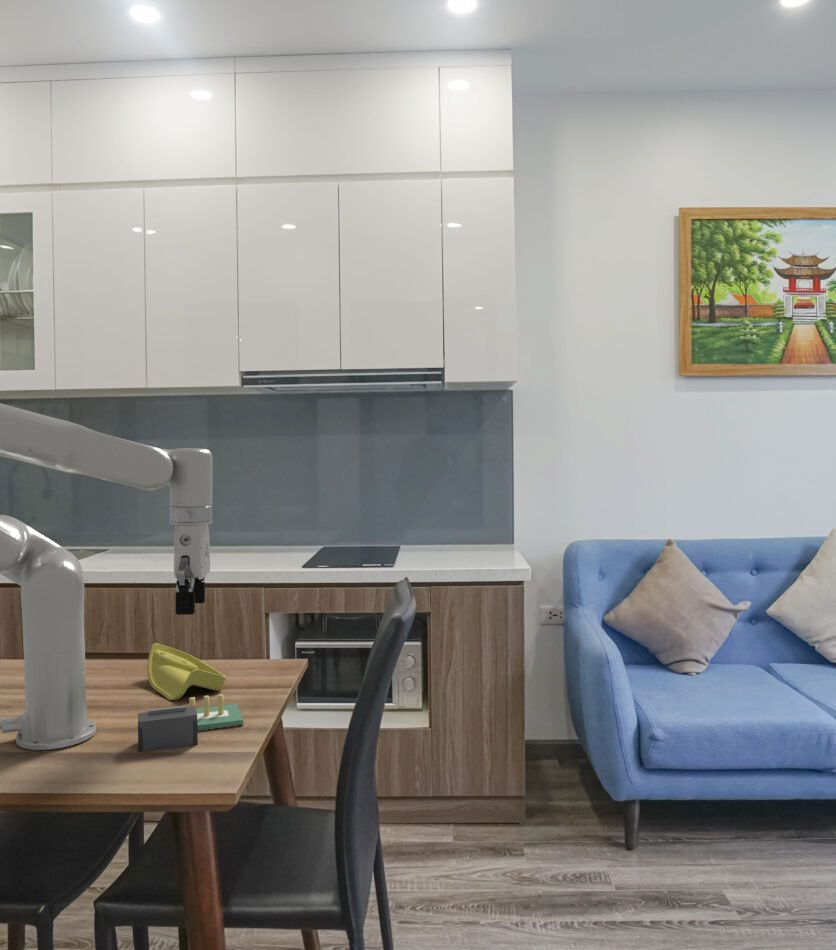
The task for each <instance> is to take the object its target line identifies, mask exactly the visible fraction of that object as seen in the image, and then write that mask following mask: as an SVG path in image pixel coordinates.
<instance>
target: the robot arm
mask: <svg viewBox="0 0 836 950" xmlns="http://www.w3.org/2000/svg"><path fill="white" fill-rule="evenodd" d="M0 457H2V458H7V459H12V460H16V461H20V462H24V463H28V464H32V465H36V466H39V467H44V468H49V469H52V470H57V471H60V472H63V473H67V474H76V475H77V474H78V475H83V476H88V477H92V478H95V479H100V480H104V481H108V482H111V483H115V484H120V485H123V486H129V487H132V488H137V489H138V490H139V489H140V490H145V491H156V490H159V489H161V488H163V487H165V486H169V525H173V526H175V527H174V535H173V536H174V541H173V542H174V544H173V546H174V547H173V575H174V578H175V579H176V582H175V583H176V586H175V614H176V615H178V616H179V615H180V616H182V615H184V616H185V615H192V616H193V615H194V614H195V612H196V609H195V607H196V606H195V604H204V603H205V601H206V582H205V580H206V578H205V577H206V576H207V575H208V574H209V573H210V572H211V549H210V547H211V546H210V532H209V531H210V528H209V525H211V524H213V495H214V494H213V492H214V491H213V481H214V480H213V475H214V473H213V471H214V470H213V469H214V468H213V467H214V466H213V465H214V463H213V462H214V461H213V459H214V458H213V453H212V452H211V451H210V450H209V449H207V448H199V447H197V448H194V447H192V448H190V447H188V448H187V447H183V448H181V447H179V448H175V449H168V448H167V449H166V448H161V447H160V448H159V447H155V446H151V445H147V444H144V443H142V442H141V443H140V442H136V441H132V440H129V439H124V438H121V437H117V436H114V435H111V434H107V433H103V432H100V431H97V430H93V429H90V428H88V427H86V426H83V425H81V424H78V423H75V422H71V421H69V420H65V419H60V418H58V417H52V416H49V415H45V414H42V413H38V412H33V411H30V410H27V409H23V408H19V407H15V406H12V405H9V404H4V403H1V402H0ZM0 575H1V576H3V577H4V578H6V579H8V580H10V581H12V582H13V583H15V584H16V585H18V586H20V601H21V616H22V619H21V620H22V639H23V640H22V642H23V644H22V645H23V663H24V667H23V668H24V704H25V706H24V707H25V708H24V709H25V710H24V713H23V714H18V715H17V716H15V717H2V718H1V717H0V731H2V734H7V733H12V732H17V733H16V735H15V743H16V745H17V746H18V747H19V748H21V749H24V750H31V751H48V750H49V751H50V750H58V749H62V748H67V747H72V746H75V745H77V744H80V743H82V742H84V741H87V740H89V739H90V738H92V737H93V736H94V735H95V734H96V733H97V723H96V722H95V721H94V720H92V719H89V718H87V695H86V694H87V687H86V685H87V684H86V680H87V678H86V645H85V643H86V642H85V639H86V638H85V580H84V571H83V568H82V565H81V563H80V561H79V559H78V558H77V557H76V556H75V555H74V554H73V553H72V552H70V551H69V550H67V549H66V548H65V547H63V546H61V545H59V544H58V543H56V542H55V541H53V540H52V539H50V538H49V537H47V536H45V535H44V534H42V533H41V532H39V531H38V530H35V529H34V528H33V527H31V526H29V525H28V524H26V523H24V522H23V521H21V520H19V519H17V518H16V517H13V516H10V515H6V514H0Z"/></svg>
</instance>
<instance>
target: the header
mask: <svg viewBox="0 0 836 950" xmlns="http://www.w3.org/2000/svg"><path fill="white" fill-rule="evenodd" d="M188 700H189V707H196V697H195V696H193V697H189V698H188ZM196 711H197V732H200V731H209V730H208V729H210V730H216V729H215V728H218V729H224V728H223V727H226V728H231V727H230V726H234V727H237V726H236V725H242V726H244V718H243V715H242V713H241V710H240V707H239V704H238V703H231V704H224V694H222V693H219V694H217V705H215V706H210V696H209V695H204V696H203V707H198V708H197V707H196Z"/></svg>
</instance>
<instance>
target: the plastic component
mask: <svg viewBox="0 0 836 950" xmlns="http://www.w3.org/2000/svg"><path fill="white" fill-rule="evenodd" d="M146 667H147V669H146V670H147V678H148V682H149V684H150V685H151V687H152V689H154V690H155V691H157V692H158V693H159V694H161V695H162V696H163V697H165V698H166V699H168V700H169V701H178V700H179V699H181V698H182V697H183V696H184V695H185V694H186V692H187V690H188V689H189V688H191V686H196V687H200V688H203V689H206V690H207V689H208V690H211V691H214V692H220V691H221V690H222V688H223V685H224V684H225V681H226V678H227V676H226V675H225V674H223V673H222V672H220V671H218V670H217V669H215V668H214V667H212V666H211V665H209V664H207V663H205V662H204V661H202V660H200V659H199V658H197V657H195V656H193V655H191V654H190V653H186V652H185V651H181V650H179V649H176V648H173V647H170V646H167V645H164V644H162V643H158V642H155V643H153V644H152V645H151V646H150V651H149V653H148V658H147V665H146Z"/></svg>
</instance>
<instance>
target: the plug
mask: <svg viewBox="0 0 836 950" xmlns="http://www.w3.org/2000/svg"><path fill="white" fill-rule="evenodd" d="M196 708H197V707H196V706H195V707H186V705H178V706H170V707H161V708H159V707H158V708H150V709H148V711H145V712H138V713H137V744H138V745H137V746H138V748H137V749H138V753H142V752H148V751H156V750H165V749H172V748H180V747H187V746H195V745H196V746H197V745H198V744H199V740H198V732H199V731H197V711H196Z"/></svg>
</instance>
